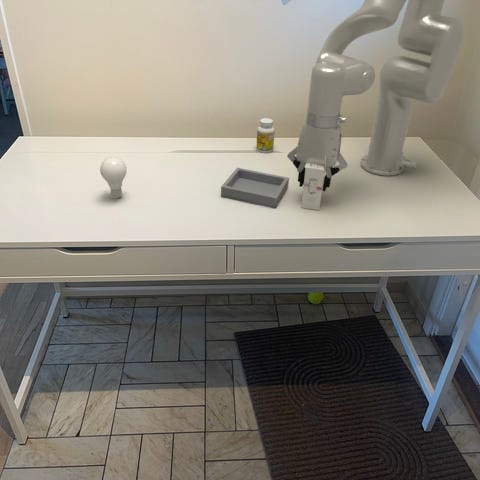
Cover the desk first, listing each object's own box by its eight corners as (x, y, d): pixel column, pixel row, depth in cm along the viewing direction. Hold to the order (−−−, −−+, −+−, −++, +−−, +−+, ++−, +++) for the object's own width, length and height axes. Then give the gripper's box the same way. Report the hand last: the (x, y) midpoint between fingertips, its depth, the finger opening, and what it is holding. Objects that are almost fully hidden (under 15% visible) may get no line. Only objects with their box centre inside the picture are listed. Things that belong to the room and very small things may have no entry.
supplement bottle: (276, 150, 149) (279, 120, 144) (265, 154, 146) (267, 125, 141) (263, 144, 152) (265, 115, 147) (252, 149, 149) (254, 120, 144)
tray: (288, 187, 130) (289, 177, 128) (275, 208, 120) (276, 198, 118) (236, 177, 133) (237, 167, 132) (220, 196, 124) (221, 186, 122)
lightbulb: (134, 194, 124) (129, 155, 117) (121, 205, 119) (116, 166, 113) (112, 189, 125) (107, 151, 119) (99, 200, 120) (93, 161, 114)
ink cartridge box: (303, 192, 128) (309, 141, 119) (321, 194, 127) (329, 143, 118) (299, 208, 121) (306, 155, 112) (319, 210, 120) (327, 158, 111)
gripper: (361, 119, 111) (349, 186, 122) (291, 108, 116) (285, 174, 126) (356, 130, 106) (343, 200, 116) (282, 118, 110) (277, 186, 121)
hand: (313, 186), depth 121 cm, fingers closed on ink cartridge box, 5 cm apart
